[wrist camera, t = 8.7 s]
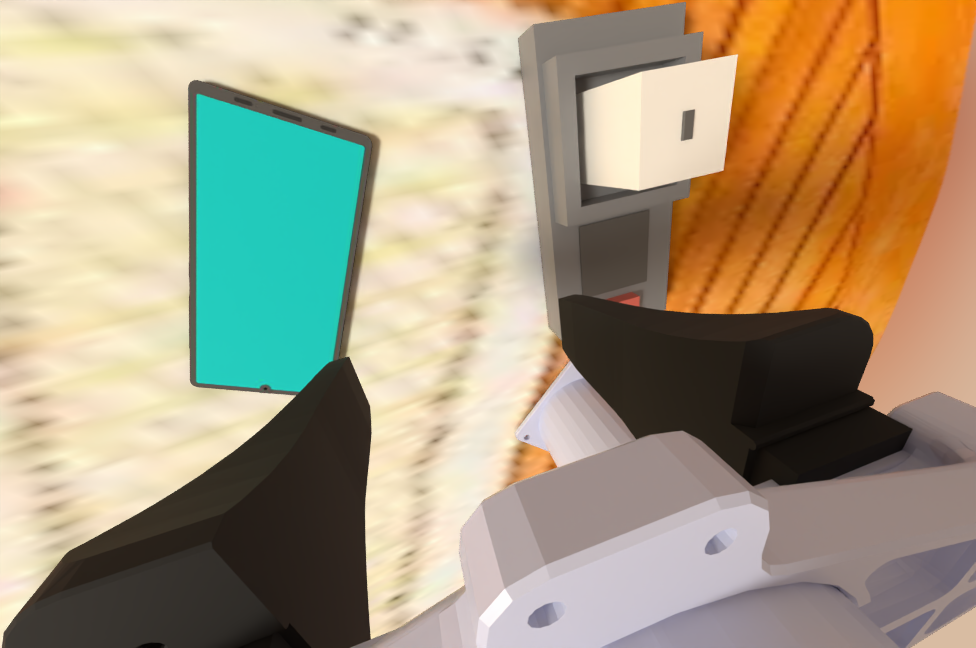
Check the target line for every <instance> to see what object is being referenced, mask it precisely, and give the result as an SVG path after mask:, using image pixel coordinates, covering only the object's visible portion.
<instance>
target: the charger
mask: <svg viewBox="0 0 976 648" xmlns="http://www.w3.org/2000/svg"><path fill="white" fill-rule="evenodd" d="M737 57H738V54H737V55H732V56H726V57H720V58H715V59H709V60H704V61H698V62H693V63H687V64H682V65H676V66H671V67H665V68H659V69H654V70H648V71H643V72H639V73H637V74H634V75H631V76H628V77H625V78H622V79H619V80H616V81H613V82H610V83H608V84H605V85H602V86H599V87H596V88H593V89H590V90H587V91H584V92H582V93H579V94H576V109H577V129H578V149H579V170H580V183H581V184H589V185H597V186H606V187H614V188H622V189H630V190H638V191H639V190H644V189H648V188H652V187H656V186H661V185H665V184H669V183H673V182H677V181H682V180H686V179H690V178H694V177H698V176H703V175H707V174H711V173H715V172H720V171H723V170H724V162H725V154H726V146H727V138H728V130H729V122H730V114H731V105H732V97H733V89H734V81H735V73H736V65H737Z"/></svg>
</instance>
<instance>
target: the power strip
mask: <svg viewBox="0 0 976 648" xmlns="http://www.w3.org/2000/svg"><path fill="white" fill-rule="evenodd" d="M685 8H686V2H683V3H676V4H669V5H662V6H656V7H649V8H642V9H635V10H628V11H622V12H615V13H608V14H601V15H594V16H588V17H581V18H574V19H567V20H560V21H554V22H547V23H540V24H533V25H532V26H531V27H530V28H529V29H528V30H527V31H526V32H525V33H523V34H522V35H521V36H520V37H519V38H518V43H519V52H520V61H521V71H522V80H523V90H524V99H525V108H526V118H527V127H528V137H529V146H530V155H531V165H532V174H533V183H534V193H535V202H536V212H537V221H538V230H539V240H540V249H541V259H542V268H543V277H544V287H545V296H546V305H547V315H548V324H549V328H550V329H551V330H552V331H553V332H554V333H555V334H556V335H557V336H558V337H559V338H560V339H561V340H562V336H561V325H560V314H559V303H558V299H559V298H563V297H566V296H570V295H573V294H578V295H586V296H591V297H596V298H600V299H605V300H610V301H614V302H619V303H624V304H628V305H634V306H639V307H645V308H651V309H657V310H665V309H666V297H667V282H668V267H669V251H670V236H671V221H672V206H673V201H676V200H680V199H684V198H688V197H689V194H690V182H691V178H690V179H686V180H682V181H677V182H673V183H669V184H665V185H661V186H656V187H652V188H648V189H644V190H639V191H638V190H630V189H622V188H614V187H606V186H597V185H589V184H581V183H580V170H579V149H578V129H577V109H576V94H579V93H582V92H584V91H587V90H590V89H593V88H596V87H599V86H602V85H605V84H608V83H610V82H613V81H616V80H619V79H622V78H625V77H628V76H631V75H634V74H637V73H639V72H643V71H648V70H654V69H659V68H665V67H671V66H676V65H682V64H687V63H693V62H698V61H701V54H702V42H703V32H698V33H692V34H685V35H684V23H685Z"/></svg>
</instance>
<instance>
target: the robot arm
mask: <svg viewBox="0 0 976 648" xmlns="http://www.w3.org/2000/svg"><path fill="white" fill-rule="evenodd" d="M558 303H559V314H560V325H561V336H562V348H563V350H564V351H565V353H566V355H567V356H568V358H569V359H570V361H569V362H568V364H567V365H566V366H565V368H564V369H563V370H562V371H561V373H560V374H559V375H558V377H557V378H556V379H555V381H554V382H553V383H552V384H551V386H550V387H549V388H548V390H547V391H546V392H545V394H544V395H543V396H542V397H541V399H540V400H539V401H538V403H537V404H536V405H535V407H534V408H533V409H532V410H531V412H530V413H529V414H528V416H527V417H526V418H525V420H524V421H523V422H522V423H521V425H520V426H519V427H518V429H517V430H516V432H515V436H516V438H517V439H518V440H520V441H523V442H525V443H528V444H531V445H533V446H536V447H538V448H541V449H544V450H546V451H549V452H550V454H551V456H552V458H553V459H554V461H555V463H556V465H557V467H558V468H555V469H552V470H549V471H546V472H543V473H541V474H538V475H535V476H532V477H529V478H527V479H524V480H521V481H518V482H515V483H513V484H511V485H509V486H507V487H506V488H504V489H502V490H500V491H498V492H497V493H495V494H493V495H491V496H490V497H488V498H486V499H484V500H483V501H482V503H481V504H480V505H479V506H478V508H477V509H476V510H475V511H474V513H473V514H472V515H471V516H470V518H469V519H468V520H467V522H466V523H465V524H464V525H463V527H462V528H461V533H460V547H459V555H460V561H461V566H462V571H463V577H464V582H465V585H464V586H463V587H461V588H460V589H458V590H457V591H455V592H453V593H452V594H450V595H449V596H447V597H446V598H444V599H443V600H441V601H439V602H438V603H436V604H435V605H433V606H432V607H430V608H429V609H427V610H426V611H424V612H422V613H421V614H419V615H418V616H416V617H415V618H413V619H412V620H410V621H408V622H407V623H405V624H404V625H402V626H401V627H399V628H398V629H396V630H393V631H391V632H388V633H386V634H383V635H381V636H378V637H376V638H373V639H371V637H370V625H369V609H368V591H367V572H366V545H365V497H366V486H367V476H368V466H369V455H370V444H371V414H370V405H369V403H368V400H367V398H366V396H365V393H364V391H363V389H362V386H361V384H360V382H359V379H358V377H357V374H356V372H355V370H354V367H353V365H352V363H351V360H350V358H349V357H345V358H342V359H338V360H335V361H331V362H329V363H328V364H326V365H325V366H324V367H323V368H322V369H321V370H320V371H319V372H318V373H317V374H316V375H315V376H314V377H313V379H312V380H311V381H310V382H309V383H308V384H307V385H306V386H305V387H304V388H303V389H302V390H301V391H300V392H299V393H298V394H297V395H296V397H295V398H294V399H293V400H292V401H291V402H290V403H288V404H287V405H286V406H285V407H284V408H283V409H282V410H281V411H280V412H279V413H278V414H277V415H276V416H275V417H274V418H273V419H272V420H271V421H270V422H269V423H268V424H266V425H265V426H264V427H263V428H262V429H261V430H260V431H258V432H257V433H256V434H255V435H254V436H252V437H251V438H250V439H249V440H248V441H246V442H245V443H244V444H243V445H241V446H240V447H239V448H238V449H236V450H235V451H234V452H232V453H231V454H229V455H228V456H227V457H225V458H224V459H222V460H221V461H220V462H218V463H217V464H215V465H214V466H213V467H211V468H210V469H208V470H207V471H206V472H204V473H203V474H201V475H200V476H199V477H197V478H196V479H194V480H192V481H191V482H189V483H188V484H186V485H185V486H183V487H182V488H180V489H178V490H177V491H175V492H174V493H172V494H170V495H169V496H167V497H166V498H164V499H162V500H161V501H159V502H157V503H156V504H154V505H152V506H151V507H149V508H147V509H146V510H144V511H142V512H140V513H139V514H137V515H135V516H133V517H132V518H130V519H128V520H126V521H124V522H122V523H121V524H119V525H117V526H115V527H113V528H111V529H110V530H108V531H106V532H104V533H102V534H100V535H99V536H97V537H95V538H93V539H91V540H89V541H88V542H86V543H84V544H82V545H80V546H78V547H76V548H74V549H72V550H70V551H69V552H68V553H67V554H66V555H65V556H64V557H63V558H62V560H61V561H60V562H59V563H58V565H57V566H56V567H55V568H54V570H53V571H52V572H51V573H50V575H49V576H48V577H47V578H46V580H45V581H44V582H43V583H42V585H41V586H40V587H39V588H38V589H37V591H36V592H35V593H34V594H33V596H32V597H31V598H30V599H29V601H28V602H27V603H26V604H25V605H24V607H23V608H22V609H21V610H20V612H19V613H18V614H17V615H16V617H15V618H14V619H13V621H12V622H11V623H10V625H9V626H8V628H7V629H6V630H5V632H4V635H3V644H2V648H910V647H912V646H914V645H915V644H917V643H919V642H920V641H922V640H923V639H925V638H927V637H928V636H930V635H931V634H933V633H935V632H936V631H938V630H939V629H941V628H942V627H944V626H946V625H947V624H949V623H950V622H952V621H953V620H955V619H957V618H958V617H960V616H962V615H963V614H965V613H967V612H968V611H970V610H972V609H973V608H975V607H976V407H974V406H971V405H969V404H966V403H964V402H962V401H959V400H957V399H955V398H952V397H950V396H947V395H945V394H943V393H940V392H933V393H929V394H927V395H924V396H921V397H919V398H916V399H914V400H911V401H909V402H906V403H904V404H901V405H899V406H897V407H895V408H894V409H893V410H892V411H891V412H890V413H889V414H888V415H887V416H886V415H884V414H882V413H881V412H878V411H877V410H875V409H873V408H871V407H869V406H872V405H873V404H874V401H875V400H874V399H873V397H872V396H870V395H868V394H866V393H864V392H861V391H859V390H857V389H858V386H859V383H860V381H861V378H862V375H863V373H864V370H865V368H866V365H867V363H868V360H869V358H870V354H871V351H872V347H873V333H872V330H871V328H870V325H869V323H868V322H867V321H865V320H864V319H863V318H861V317H859V316H856V315H853V314H850V313H847V312H844V311H841V310H838V309H832V308H821V309H811V310H800V311H790V312H780V313H761V314H698V313H684V312H674V311H665V310H657V309H651V308H645V307H639V306H634V305H628V304H624V303H619V302H614V301H610V300H605V299H600V298H596V297H591V296H586V295H578V294H573V295H570V296H566V297H563V298H559V299H558ZM526 435H527V436H526ZM525 436H526V437H525Z"/></svg>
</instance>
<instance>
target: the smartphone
mask: <svg viewBox="0 0 976 648" xmlns="http://www.w3.org/2000/svg"><path fill="white" fill-rule="evenodd" d="M188 112H189V282H190V295H189V348H190V382H191V384H192V385H194V386H196V387H203V388H215V389H226V390H238V391H250V392H259V393H274V394H286V395H297V394H298V393H299V392H300V391H301V390H302V389H303V388H304V387H305V386H306V385H307V384H308V383H309V382H310V381H311V380H312V379H313V377H314V376H315V375H316V374H317V373H318V372H319V371H320V370H321V369H322V368H323V367H324V366H325V365H326V364H328V363H329V362H331V361H335V360H338V359H339V353H340V347H341V341H342V334H343V328H344V322H345V315H346V309H347V303H348V296H349V290H350V284H351V277H352V271H353V264H354V258H355V252H356V245H357V239H358V233H359V226H360V220H361V214H362V207H363V201H364V195H365V188H366V182H367V175H368V169H369V163H370V156H371V150H372V142H371V140H370V139H369V137H367V136H366V135H363V134H360V133H357V132H354V131H351V130H348V129H345V128H342V127H339V126H336V125H333V124H330V123H327V122H324V121H321V120H318V119H314V118H311V117H308V116H305V115H302V114H299V113H296V112H293V111H290V110H287V109H284V108H281V107H278V106H275V105H272V104H269V103H266V102H263V101H260V100H256V99H253V98H250V97H247V96H244V95H241V94H238V93H235V92H232V91H229V90H226V89H223V88H220V87H217V86H214V85H211V84H208V83H205V82H202V81H198V80H194V81H192V82H190V84H189V87H188Z"/></svg>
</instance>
